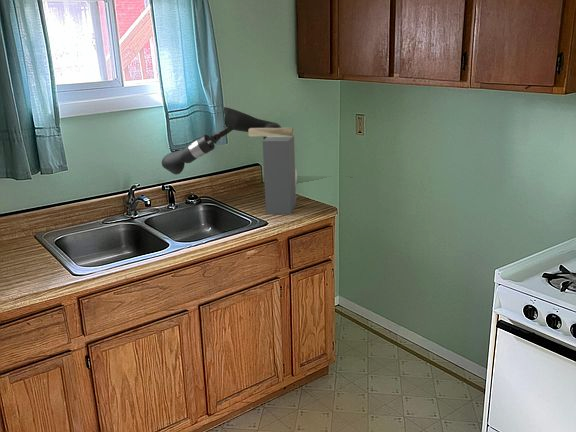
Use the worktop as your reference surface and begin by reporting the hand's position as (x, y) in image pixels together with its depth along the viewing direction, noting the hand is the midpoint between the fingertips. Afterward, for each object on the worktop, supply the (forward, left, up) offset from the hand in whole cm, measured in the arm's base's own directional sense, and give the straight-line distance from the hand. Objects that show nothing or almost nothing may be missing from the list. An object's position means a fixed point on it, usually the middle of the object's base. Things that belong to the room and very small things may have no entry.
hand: (230, 128), depth 258 cm
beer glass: (-11, +23, -36) cm, 44 cm away
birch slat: (0, +18, -3) cm, 18 cm away
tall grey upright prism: (+4, +22, -35) cm, 42 cm away
